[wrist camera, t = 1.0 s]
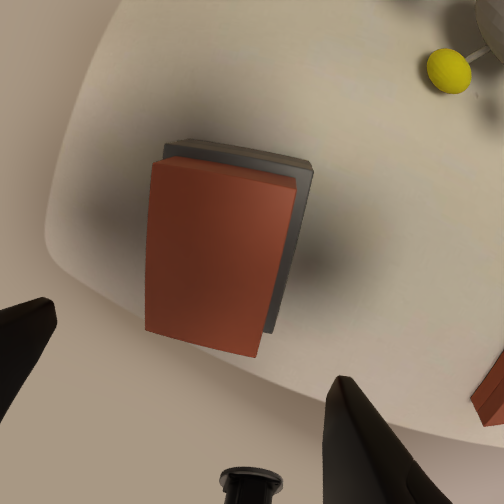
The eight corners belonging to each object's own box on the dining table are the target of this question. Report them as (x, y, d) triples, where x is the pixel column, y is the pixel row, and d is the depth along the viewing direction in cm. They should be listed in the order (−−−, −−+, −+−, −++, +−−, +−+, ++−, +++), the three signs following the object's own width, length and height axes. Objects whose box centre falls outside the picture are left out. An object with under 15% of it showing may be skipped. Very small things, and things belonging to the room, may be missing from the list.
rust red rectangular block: (260, 327, 16) (255, 358, 14) (162, 304, 17) (144, 330, 14) (296, 178, 13) (297, 189, 11) (174, 155, 13) (152, 162, 11)
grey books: (276, 299, 20) (272, 337, 17) (172, 276, 20) (149, 308, 17) (309, 161, 17) (315, 170, 13) (187, 138, 17) (161, 142, 13)
